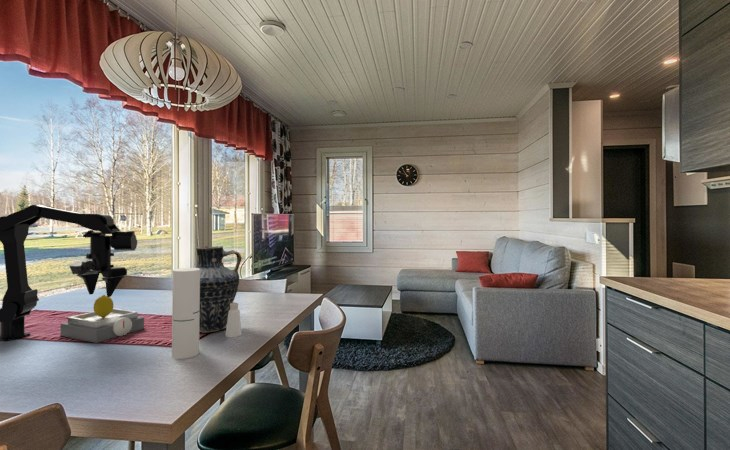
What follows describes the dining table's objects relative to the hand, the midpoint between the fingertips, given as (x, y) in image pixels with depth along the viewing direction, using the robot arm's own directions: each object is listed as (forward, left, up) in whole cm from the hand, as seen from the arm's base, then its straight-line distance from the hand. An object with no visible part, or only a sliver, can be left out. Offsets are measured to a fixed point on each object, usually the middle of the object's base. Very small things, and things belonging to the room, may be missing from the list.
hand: (100, 295), depth 120 cm
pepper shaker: (+44, +16, -13) cm, 48 cm away
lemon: (+1, +1, -8) cm, 8 cm away
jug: (+32, +18, -13) cm, 39 cm away
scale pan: (+1, +1, -9) cm, 9 cm away
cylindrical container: (+43, -3, -13) cm, 45 cm away
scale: (+1, +1, -13) cm, 13 cm away
